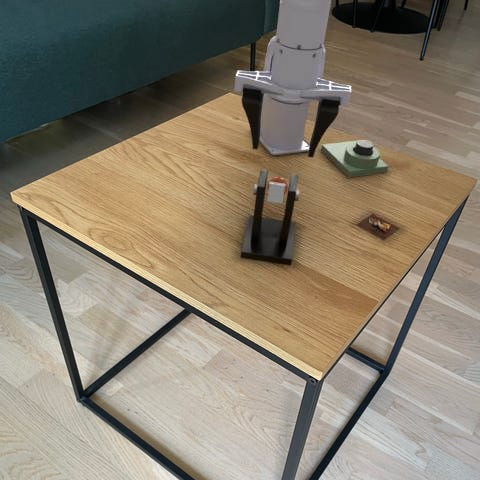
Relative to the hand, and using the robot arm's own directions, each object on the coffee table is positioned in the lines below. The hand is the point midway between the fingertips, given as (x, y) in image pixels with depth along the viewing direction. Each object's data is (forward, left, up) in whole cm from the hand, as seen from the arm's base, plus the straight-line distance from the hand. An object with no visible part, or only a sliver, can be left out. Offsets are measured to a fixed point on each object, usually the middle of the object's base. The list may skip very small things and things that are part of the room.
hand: (283, 150), depth 69 cm
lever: (+4, -2, -6) cm, 7 cm away
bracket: (+6, -4, -10) cm, 13 cm away
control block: (-12, +21, -10) cm, 26 cm away
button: (-10, +21, -8) cm, 25 cm away
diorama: (+7, +14, -11) cm, 19 cm away
